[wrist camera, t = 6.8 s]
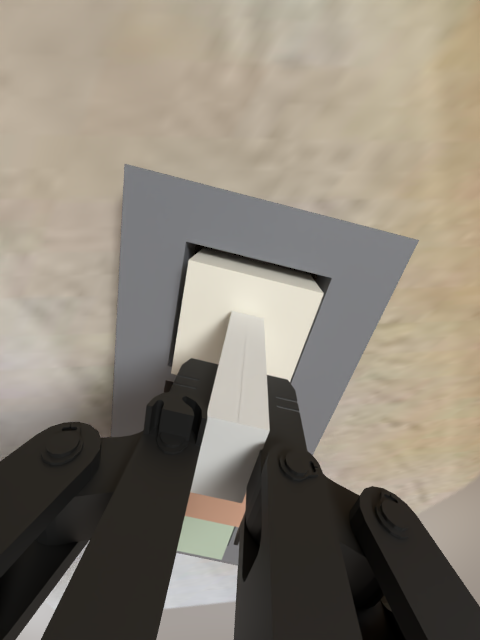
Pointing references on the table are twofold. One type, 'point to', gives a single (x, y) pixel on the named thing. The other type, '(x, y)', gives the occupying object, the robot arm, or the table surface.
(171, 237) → the keypad board
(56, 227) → the table surface
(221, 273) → the cream square block
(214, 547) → the key
